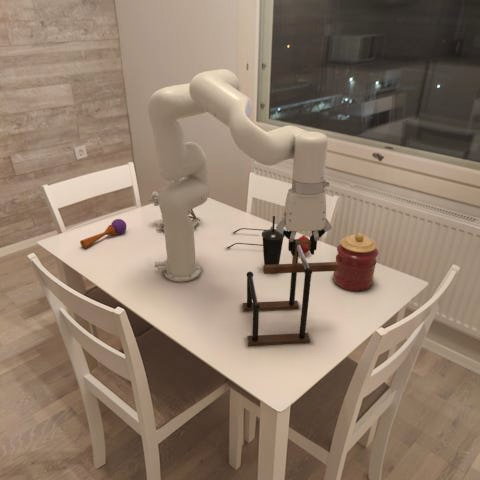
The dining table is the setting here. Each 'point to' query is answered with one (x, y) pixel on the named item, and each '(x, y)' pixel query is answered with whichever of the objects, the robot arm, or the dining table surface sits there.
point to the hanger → (300, 264)
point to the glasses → (245, 243)
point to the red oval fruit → (304, 247)
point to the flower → (160, 222)
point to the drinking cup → (272, 245)
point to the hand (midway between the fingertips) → (301, 252)
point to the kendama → (106, 232)
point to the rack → (279, 305)
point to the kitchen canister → (355, 262)
